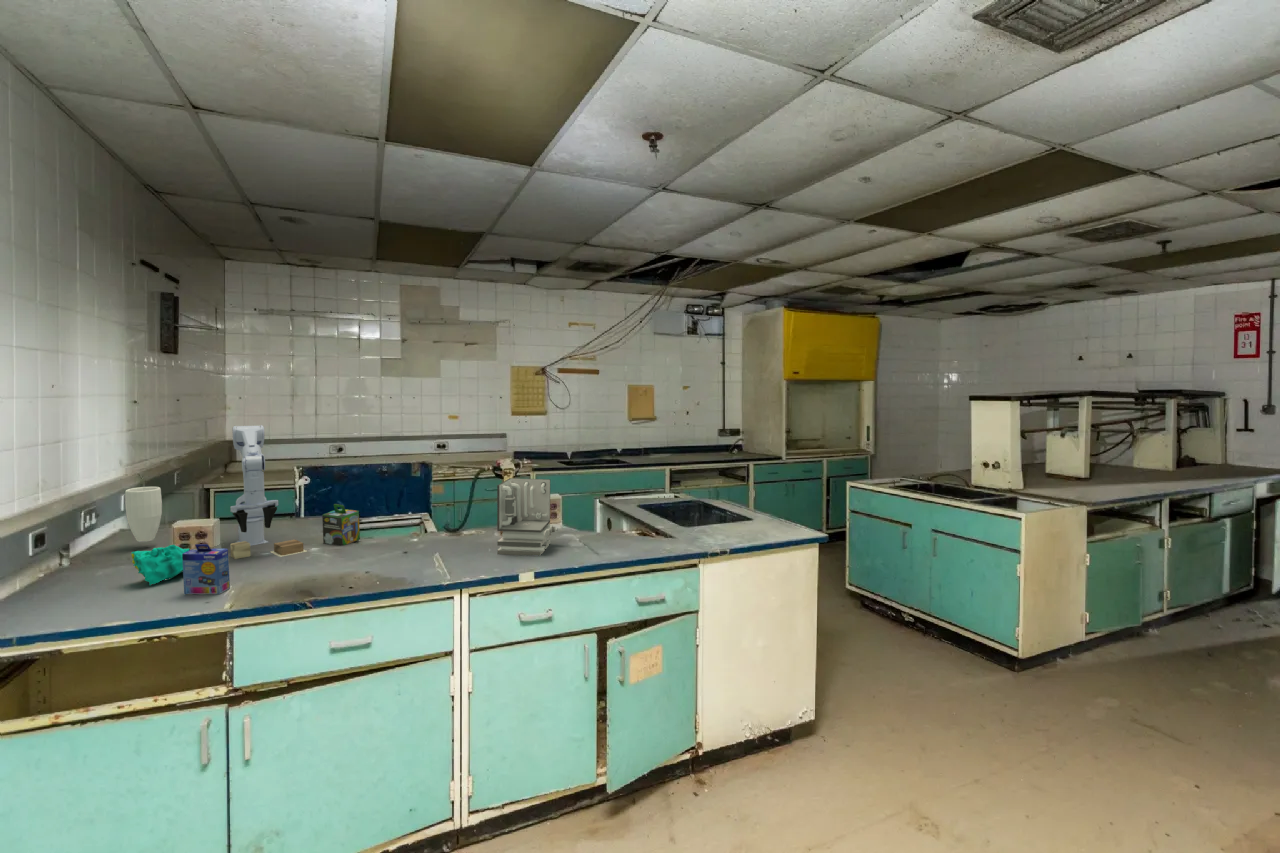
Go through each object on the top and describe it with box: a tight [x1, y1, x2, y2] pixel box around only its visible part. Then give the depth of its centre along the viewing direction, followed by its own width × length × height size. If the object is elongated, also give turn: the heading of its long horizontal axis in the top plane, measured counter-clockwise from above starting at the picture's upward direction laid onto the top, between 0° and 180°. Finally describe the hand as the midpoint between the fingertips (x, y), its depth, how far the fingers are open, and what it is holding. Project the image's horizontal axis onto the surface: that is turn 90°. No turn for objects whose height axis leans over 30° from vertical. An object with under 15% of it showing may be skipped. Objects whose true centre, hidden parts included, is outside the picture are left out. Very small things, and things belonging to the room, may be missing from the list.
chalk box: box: [321, 503, 361, 546], centre depth 225 cm, size 9×9×15 cm
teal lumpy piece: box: [130, 544, 190, 586], centre depth 182 cm, size 15×12×13 cm
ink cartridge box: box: [182, 543, 231, 595], centre depth 172 cm, size 10×6×14 cm, turn 95°
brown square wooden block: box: [273, 539, 305, 556], centre depth 212 cm, size 7×7×3 cm
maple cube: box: [229, 541, 251, 560], centre depth 206 cm, size 4×4×4 cm
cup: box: [124, 486, 163, 543], centre depth 214 cm, size 10×10×22 cm
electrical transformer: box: [496, 477, 558, 557], centre depth 221 cm, size 16×19×25 cm
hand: (255, 529), depth 205 cm, fingers open, 7 cm apart
